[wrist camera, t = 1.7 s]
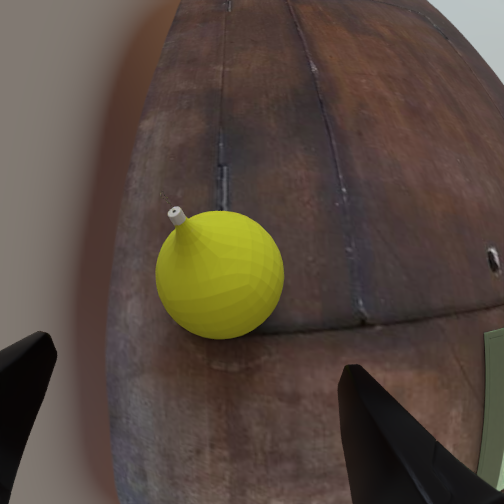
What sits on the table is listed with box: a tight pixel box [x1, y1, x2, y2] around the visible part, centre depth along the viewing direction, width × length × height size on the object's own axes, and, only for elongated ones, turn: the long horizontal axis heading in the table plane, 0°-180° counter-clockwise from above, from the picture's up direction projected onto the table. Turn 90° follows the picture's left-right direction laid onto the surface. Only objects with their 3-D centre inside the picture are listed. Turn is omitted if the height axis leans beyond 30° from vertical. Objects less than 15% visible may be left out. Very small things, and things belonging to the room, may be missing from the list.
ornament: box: [156, 191, 284, 339], centre depth 16 cm, size 7×7×10 cm
